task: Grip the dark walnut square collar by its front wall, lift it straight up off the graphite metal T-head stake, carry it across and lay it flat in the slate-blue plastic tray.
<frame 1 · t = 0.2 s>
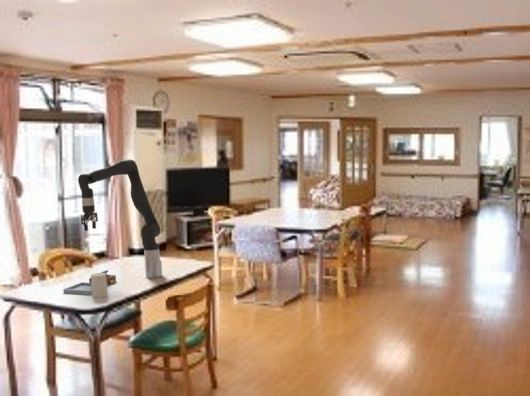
hand: (90, 229, 379), 29 cm above the table, tool pointing down, fingers open, 8 cm apart
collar: (102, 283, 355), on the table
tray: (85, 290, 340), on the table
cup: (100, 296, 326), on the table
stake: (105, 283, 354), on the table
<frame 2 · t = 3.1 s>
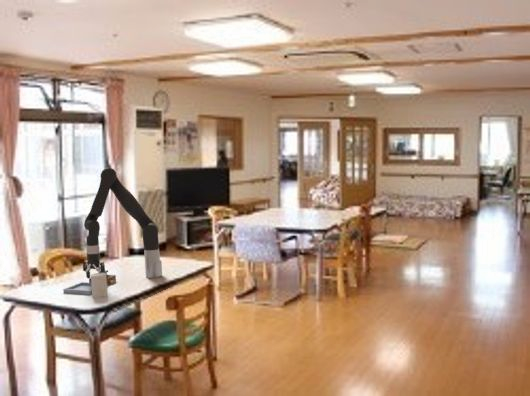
hand: (94, 278, 356), 3 cm above the table, tool pointing down, fingers open, 8 cm apart
nothing on the table moved.
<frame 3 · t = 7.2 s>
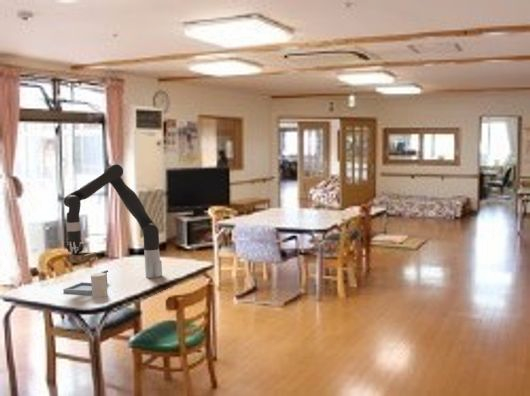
hand: (75, 259, 341), 18 cm above the table, tool pointing down, fingers closed on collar
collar: (82, 260, 339), point 17 cm above the table, touching gripper
everything else where it was.
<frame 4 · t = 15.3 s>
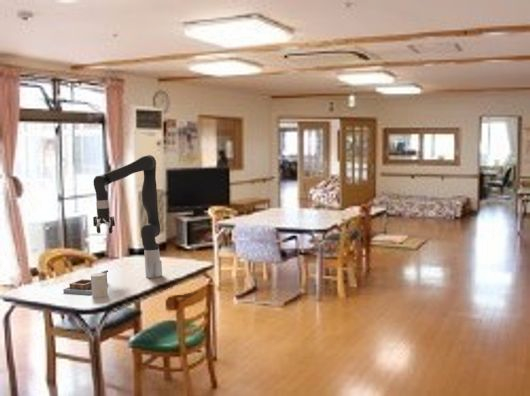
hand: (104, 233, 366), 28 cm above the table, tool pointing down, fingers open, 8 cm apart
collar: (84, 288, 340), point 1 cm above the table, touching tray
everything else where it was.
at the end: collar 0.3 cm from the target spot on the tray, point 0.8 cm above the tray's base; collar tilted 0°; the gripper is holding nothing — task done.
